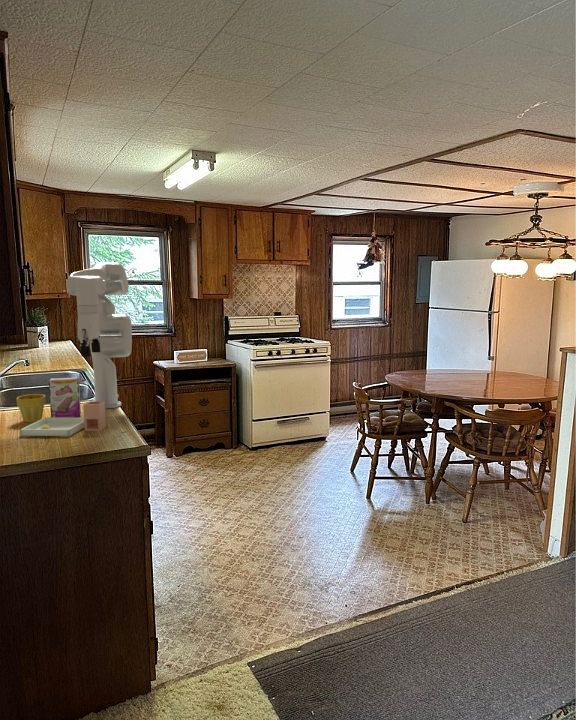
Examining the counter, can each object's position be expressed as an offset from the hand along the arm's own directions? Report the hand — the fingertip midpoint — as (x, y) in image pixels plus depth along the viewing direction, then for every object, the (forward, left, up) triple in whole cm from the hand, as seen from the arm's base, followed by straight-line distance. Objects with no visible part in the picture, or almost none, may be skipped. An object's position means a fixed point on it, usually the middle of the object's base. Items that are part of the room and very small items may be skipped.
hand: (91, 354), depth 200 cm
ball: (+17, -11, -25) cm, 32 cm away
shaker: (+8, +4, -27) cm, 29 cm away
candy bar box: (-8, -15, -28) cm, 32 cm away
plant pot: (-4, -27, -28) cm, 39 cm away
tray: (+10, -10, -27) cm, 31 cm away
